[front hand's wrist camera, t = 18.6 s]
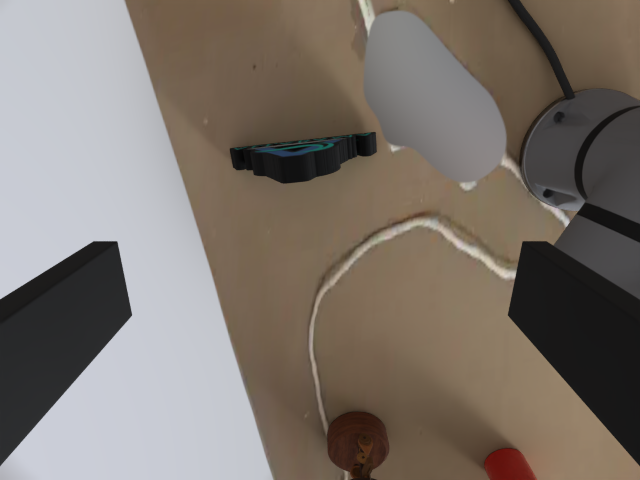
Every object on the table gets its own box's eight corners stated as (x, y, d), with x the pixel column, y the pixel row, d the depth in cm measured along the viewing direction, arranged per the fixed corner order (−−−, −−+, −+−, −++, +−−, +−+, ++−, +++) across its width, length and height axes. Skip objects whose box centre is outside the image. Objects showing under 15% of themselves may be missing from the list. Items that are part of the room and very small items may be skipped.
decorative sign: (234, 166, 50) (200, 192, 36) (230, 148, 49) (195, 167, 35) (375, 151, 49) (398, 171, 35) (374, 132, 49) (397, 144, 34)
